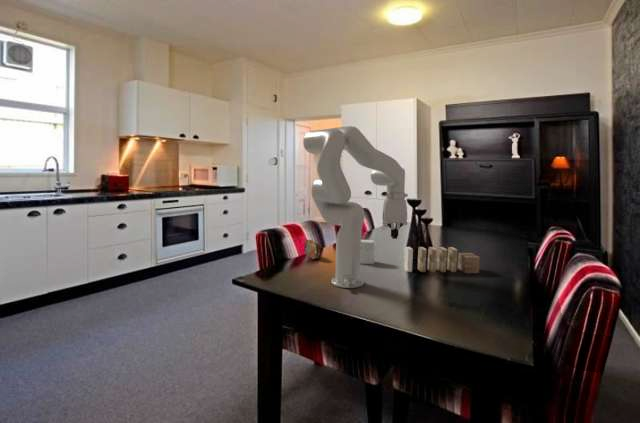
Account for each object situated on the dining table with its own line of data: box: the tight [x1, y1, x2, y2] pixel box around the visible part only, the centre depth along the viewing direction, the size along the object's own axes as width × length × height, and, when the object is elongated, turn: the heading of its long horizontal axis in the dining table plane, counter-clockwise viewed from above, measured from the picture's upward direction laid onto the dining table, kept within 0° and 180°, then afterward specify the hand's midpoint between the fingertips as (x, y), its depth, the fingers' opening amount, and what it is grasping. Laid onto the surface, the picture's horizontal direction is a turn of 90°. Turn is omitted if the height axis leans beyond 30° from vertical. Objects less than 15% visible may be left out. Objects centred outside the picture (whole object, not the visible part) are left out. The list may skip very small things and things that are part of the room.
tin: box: [303, 239, 322, 260], centre depth 181 cm, size 15×3×8 cm, turn 25°
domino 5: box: [446, 246, 458, 273], centre depth 161 cm, size 2×5×10 cm, turn 2°
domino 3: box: [426, 246, 438, 273], centre depth 160 cm, size 2×5×10 cm, turn 2°
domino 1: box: [403, 246, 414, 273], centre depth 160 cm, size 2×5×10 cm, turn 3°
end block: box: [457, 252, 481, 274], centre depth 161 cm, size 8×6×7 cm
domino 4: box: [436, 246, 448, 273], centre depth 161 cm, size 2×5×10 cm, turn 2°
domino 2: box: [417, 246, 428, 273], centre depth 160 cm, size 2×5×10 cm, turn 2°
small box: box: [360, 239, 375, 265], centre depth 172 cm, size 8×6×10 cm
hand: (394, 238), depth 159 cm, fingers closed
